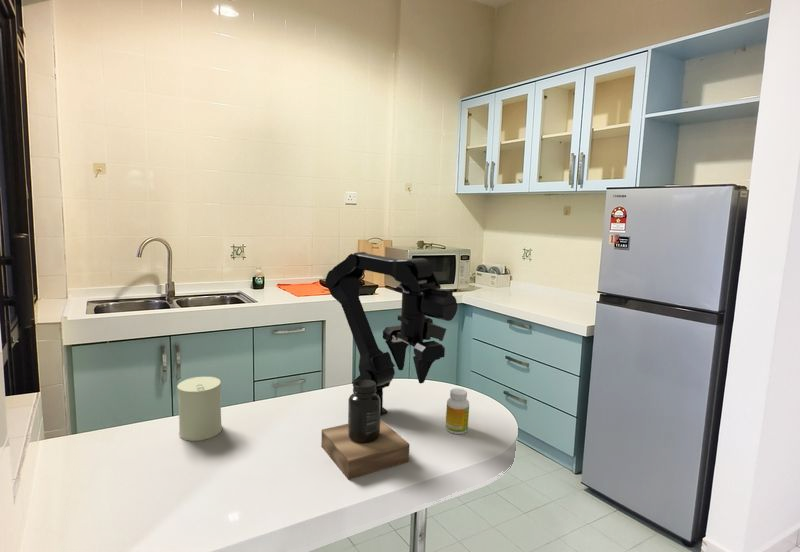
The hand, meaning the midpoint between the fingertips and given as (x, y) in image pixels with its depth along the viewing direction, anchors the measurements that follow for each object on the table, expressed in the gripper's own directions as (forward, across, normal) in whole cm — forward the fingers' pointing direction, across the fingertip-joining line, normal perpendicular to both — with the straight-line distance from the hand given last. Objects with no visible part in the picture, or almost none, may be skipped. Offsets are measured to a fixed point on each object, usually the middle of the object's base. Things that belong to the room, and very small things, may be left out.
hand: (410, 376), depth 114 cm
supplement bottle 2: (+13, -6, -10) cm, 18 cm away
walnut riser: (+13, -6, +15) cm, 21 cm away
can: (+13, +20, +44) cm, 50 cm away
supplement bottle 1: (+9, -6, +15) cm, 19 cm away
